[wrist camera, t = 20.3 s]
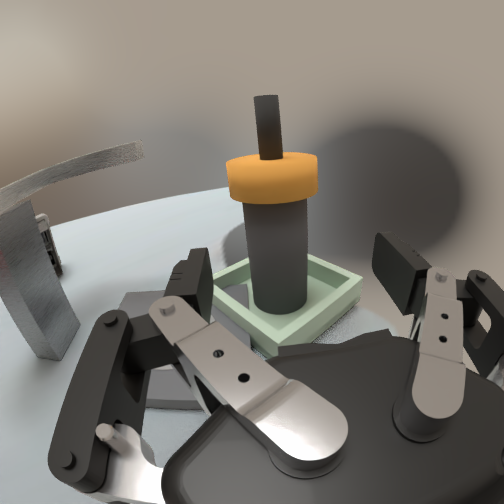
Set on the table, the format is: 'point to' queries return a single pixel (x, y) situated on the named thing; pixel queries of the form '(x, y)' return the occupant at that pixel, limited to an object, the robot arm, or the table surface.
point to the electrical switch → (49, 242)
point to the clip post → (33, 285)
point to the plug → (275, 212)
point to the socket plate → (165, 378)
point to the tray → (296, 323)
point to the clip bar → (70, 171)
